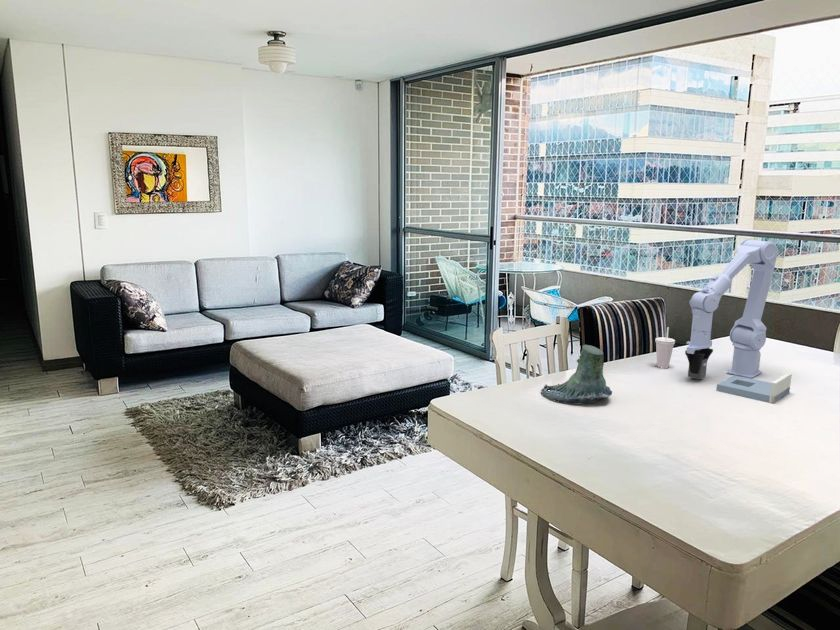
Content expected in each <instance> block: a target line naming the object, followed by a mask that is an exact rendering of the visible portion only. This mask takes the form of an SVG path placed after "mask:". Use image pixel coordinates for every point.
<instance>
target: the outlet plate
mask: <svg viewBox="0 0 840 630" xmlns="http://www.w3.org/2000/svg"><path fill="white" fill-rule="evenodd" d="M791 382H792V373H789V372H787V373H785V374H784V375H781V376H780V377H778V378H777V379H775V380H773V381H771V382H769V381H765V380H759V379H755V378H748V377H744V376H739V375H734V374H733V375H732V376H730V377H728V378H726V379H724V380H722V381H721V382H718V383H717V384H716V390H715V391H717V392H721V393H725V394H728V395H729V394H730V395H735V396H738V397H743V398H748V399H752V400H756V401H760V402H766V403H770V404H775V403H776V402H778V401H779V400H781V399H783V398H784V397H786V396H787V395H789V394H790V390H791Z"/></svg>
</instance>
